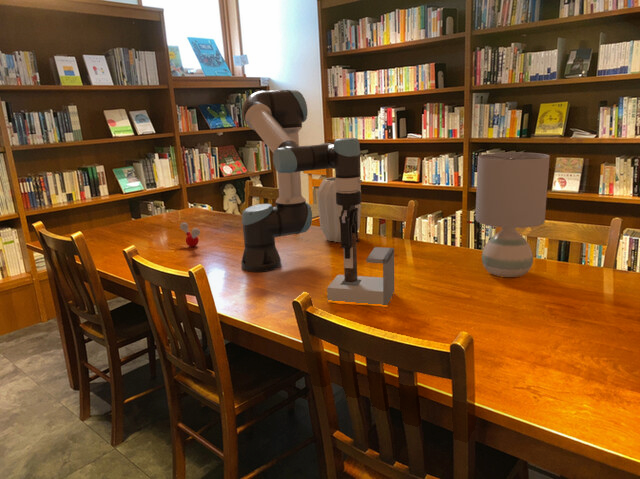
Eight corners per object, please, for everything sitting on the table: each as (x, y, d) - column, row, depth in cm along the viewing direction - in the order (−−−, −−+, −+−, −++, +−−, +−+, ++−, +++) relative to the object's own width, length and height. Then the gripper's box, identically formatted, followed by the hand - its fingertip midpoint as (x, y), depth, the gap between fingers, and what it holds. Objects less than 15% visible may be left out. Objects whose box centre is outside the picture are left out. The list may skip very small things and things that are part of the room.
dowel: (343, 281, 155) (341, 235, 151) (346, 277, 158) (344, 232, 154) (355, 282, 153) (354, 235, 149) (358, 278, 157) (357, 232, 153)
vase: (312, 237, 229) (309, 178, 222) (350, 231, 237) (348, 174, 229) (329, 247, 212) (327, 183, 205) (369, 241, 219) (368, 179, 212)
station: (327, 302, 154) (325, 256, 150) (338, 288, 165) (336, 245, 161) (387, 307, 148) (387, 259, 144) (394, 293, 159) (394, 248, 155)
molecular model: (177, 244, 228) (175, 223, 226) (189, 241, 232) (186, 220, 229) (195, 251, 215) (193, 229, 213) (208, 248, 219) (205, 226, 216)
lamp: (491, 260, 186) (497, 151, 175) (550, 272, 171) (560, 153, 160) (461, 275, 172) (465, 158, 161) (523, 290, 156) (532, 161, 146)
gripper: (353, 196, 139) (355, 275, 146) (366, 186, 155) (368, 257, 161) (327, 196, 142) (331, 273, 148) (343, 186, 157) (345, 256, 163)
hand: (350, 265), depth 155 cm, fingers closed on dowel, 4 cm apart
